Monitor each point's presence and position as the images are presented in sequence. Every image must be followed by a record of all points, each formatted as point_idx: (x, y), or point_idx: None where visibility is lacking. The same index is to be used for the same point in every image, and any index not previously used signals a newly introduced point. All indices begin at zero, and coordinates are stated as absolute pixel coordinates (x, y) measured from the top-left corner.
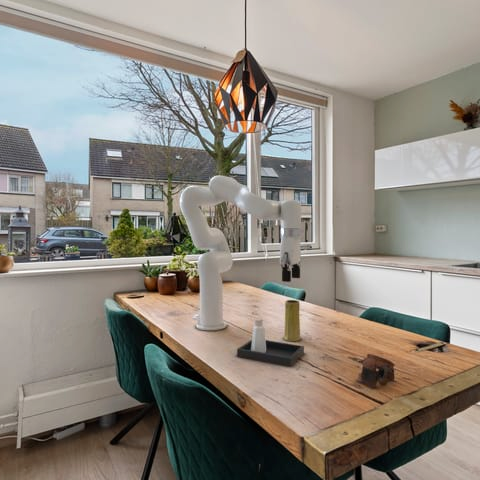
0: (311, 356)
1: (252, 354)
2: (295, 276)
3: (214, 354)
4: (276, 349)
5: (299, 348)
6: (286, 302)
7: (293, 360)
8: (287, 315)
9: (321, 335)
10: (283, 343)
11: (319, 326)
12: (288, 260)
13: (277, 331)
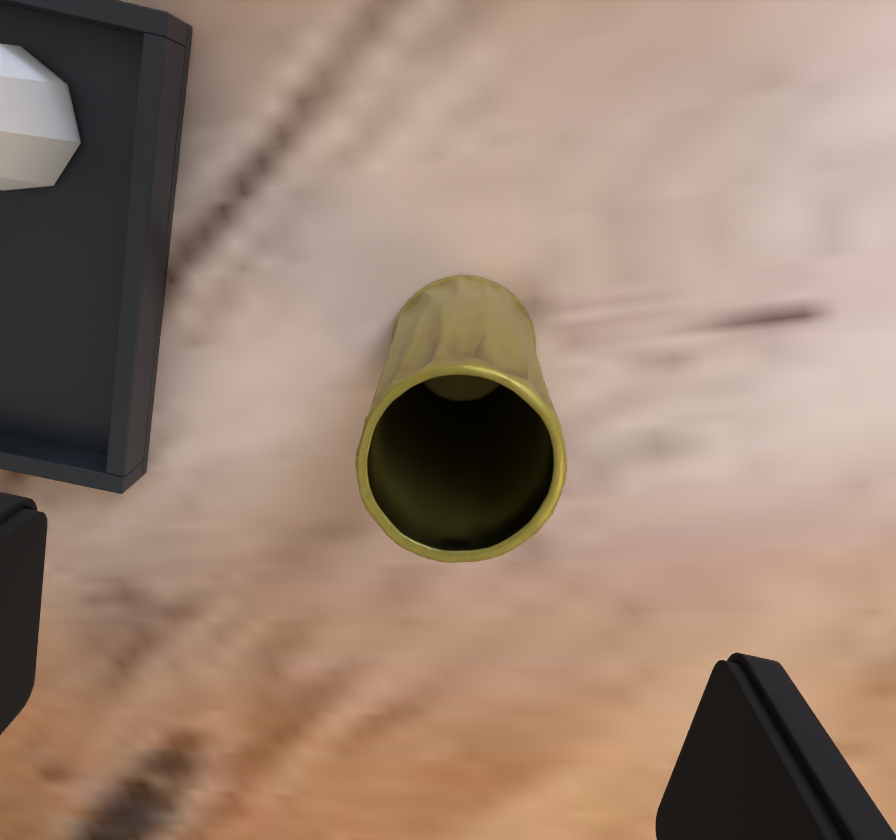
0: (111, 525)
1: None
2: (692, 769)
3: None
4: (116, 264)
5: (53, 467)
6: (389, 388)
7: None
8: (398, 360)
9: (617, 568)
10: (121, 328)
11: (892, 541)
12: None
13: (669, 172)
